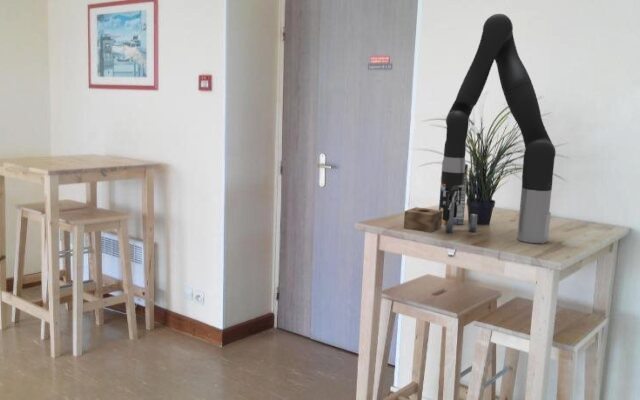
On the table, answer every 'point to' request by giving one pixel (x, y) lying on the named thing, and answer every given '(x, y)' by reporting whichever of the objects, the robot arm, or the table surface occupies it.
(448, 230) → the long pin
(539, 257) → the table surface
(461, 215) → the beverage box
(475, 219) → the short pin
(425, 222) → the hole block
